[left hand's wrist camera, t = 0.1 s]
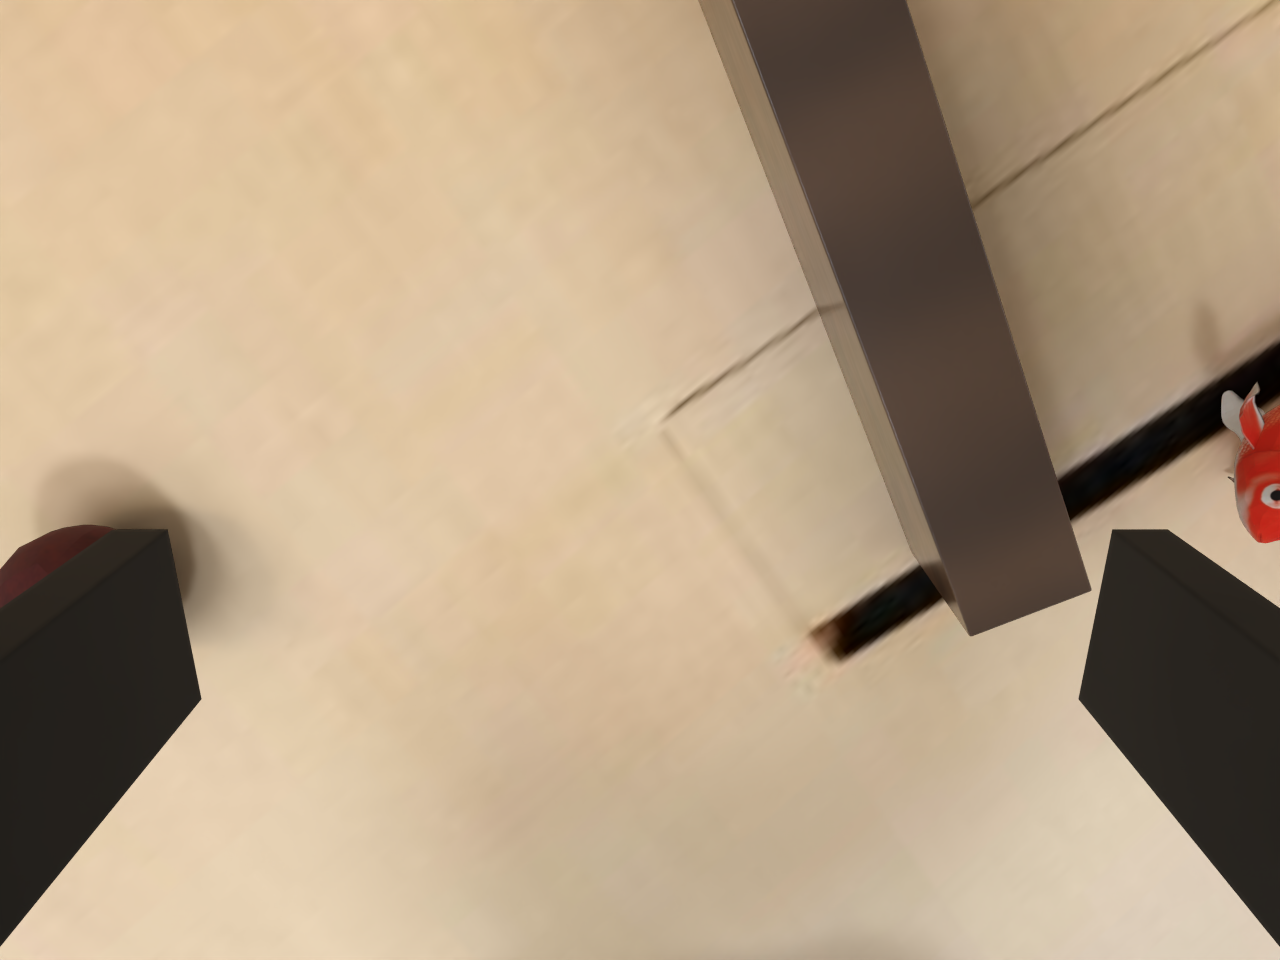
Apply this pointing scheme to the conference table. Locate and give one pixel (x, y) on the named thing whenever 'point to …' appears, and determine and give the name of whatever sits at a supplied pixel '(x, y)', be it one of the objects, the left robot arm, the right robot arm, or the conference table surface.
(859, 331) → the plank
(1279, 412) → the fish
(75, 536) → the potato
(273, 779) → the conference table surface
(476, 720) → the conference table surface
